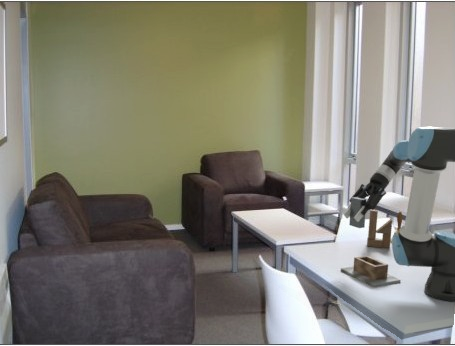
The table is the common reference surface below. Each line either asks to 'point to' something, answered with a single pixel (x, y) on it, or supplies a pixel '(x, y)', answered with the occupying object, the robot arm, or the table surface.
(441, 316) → the table surface
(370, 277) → the post slot
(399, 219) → the hand bell
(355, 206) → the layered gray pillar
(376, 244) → the wooden angular frame
